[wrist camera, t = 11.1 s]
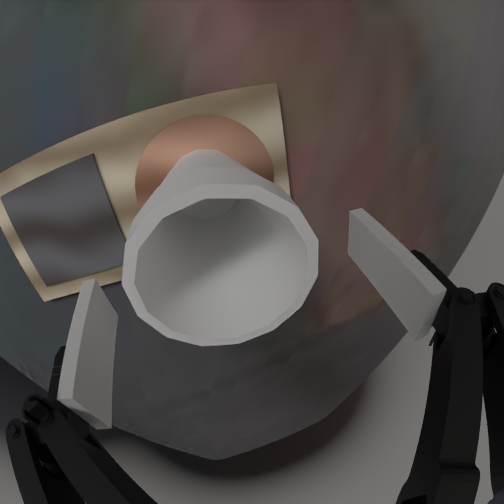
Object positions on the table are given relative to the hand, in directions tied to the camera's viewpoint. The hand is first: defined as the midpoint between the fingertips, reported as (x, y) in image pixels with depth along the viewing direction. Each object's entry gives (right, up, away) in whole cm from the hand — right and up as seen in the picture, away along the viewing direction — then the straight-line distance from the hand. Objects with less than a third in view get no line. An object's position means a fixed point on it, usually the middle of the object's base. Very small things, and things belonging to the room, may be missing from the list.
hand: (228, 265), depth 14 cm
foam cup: (-3, +6, +10) cm, 12 cm away
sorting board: (-10, +5, +10) cm, 15 cm away
